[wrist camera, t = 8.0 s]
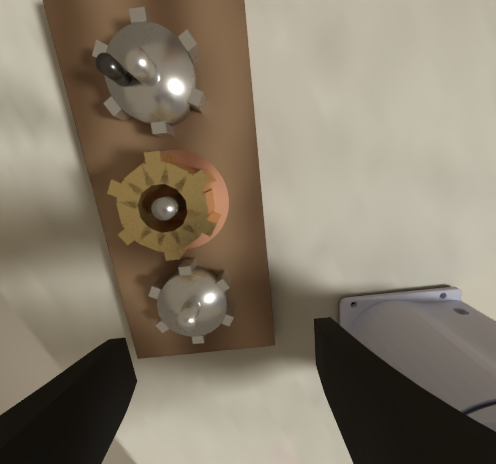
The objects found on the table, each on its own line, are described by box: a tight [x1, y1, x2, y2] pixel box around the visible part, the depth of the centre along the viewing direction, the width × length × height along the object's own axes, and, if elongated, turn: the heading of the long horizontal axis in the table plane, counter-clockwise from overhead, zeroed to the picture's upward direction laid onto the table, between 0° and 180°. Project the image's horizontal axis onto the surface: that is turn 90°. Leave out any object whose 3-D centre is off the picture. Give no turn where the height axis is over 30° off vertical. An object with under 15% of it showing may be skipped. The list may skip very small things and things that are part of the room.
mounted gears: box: [92, 7, 235, 344], centre depth 14 cm, size 6×20×3 cm, turn 6°
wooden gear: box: [107, 151, 221, 261], centre depth 14 cm, size 6×6×3 cm
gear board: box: [43, 0, 275, 359], centre depth 16 cm, size 11×24×1 cm, turn 6°
